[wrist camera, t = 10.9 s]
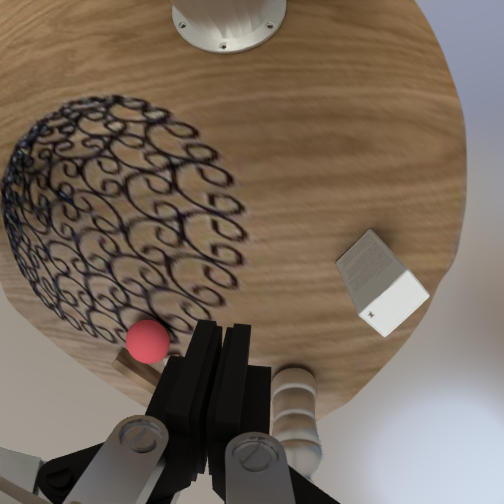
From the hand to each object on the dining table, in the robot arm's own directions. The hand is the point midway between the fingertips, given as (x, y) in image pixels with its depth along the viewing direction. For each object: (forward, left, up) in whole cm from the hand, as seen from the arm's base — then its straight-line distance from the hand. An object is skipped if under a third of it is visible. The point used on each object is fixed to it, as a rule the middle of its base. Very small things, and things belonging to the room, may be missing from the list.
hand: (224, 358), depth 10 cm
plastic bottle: (+26, +7, -27) cm, 38 cm away
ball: (+20, -13, -24) cm, 34 cm away
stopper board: (+30, -13, -27) cm, 42 cm away
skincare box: (+6, +13, -27) cm, 31 cm away
